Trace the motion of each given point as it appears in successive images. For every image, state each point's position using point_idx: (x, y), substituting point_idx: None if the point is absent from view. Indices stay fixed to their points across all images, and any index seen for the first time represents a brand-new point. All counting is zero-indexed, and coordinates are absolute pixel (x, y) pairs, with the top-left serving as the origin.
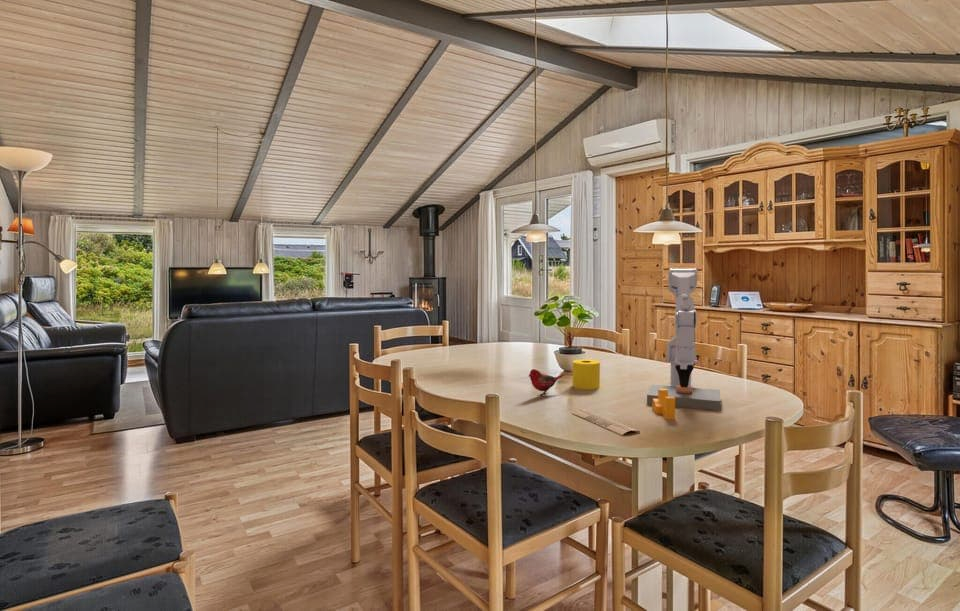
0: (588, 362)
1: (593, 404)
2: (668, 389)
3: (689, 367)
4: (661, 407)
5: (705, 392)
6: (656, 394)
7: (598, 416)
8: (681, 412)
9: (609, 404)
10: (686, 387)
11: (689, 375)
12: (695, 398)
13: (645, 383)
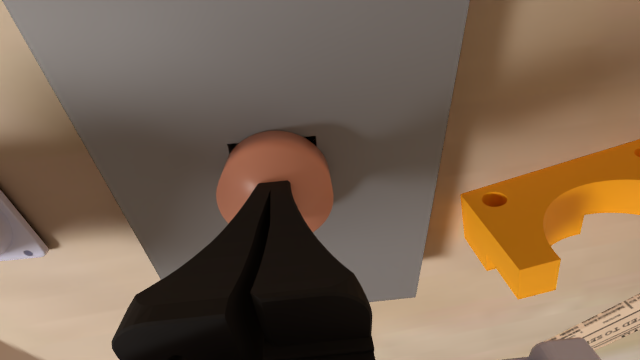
0: None
1: (453, 355)
2: None
3: (297, 332)
4: (579, 213)
5: (185, 31)
6: (394, 273)
7: (636, 323)
8: (529, 124)
9: (443, 333)
10: (296, 184)
11: (317, 241)
12: (437, 86)
13: (29, 332)
